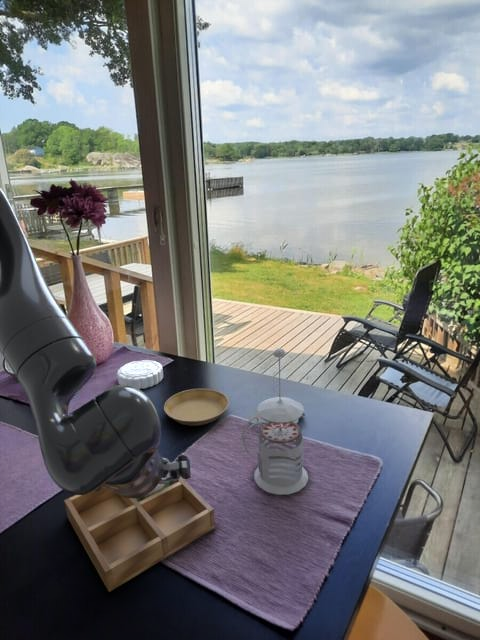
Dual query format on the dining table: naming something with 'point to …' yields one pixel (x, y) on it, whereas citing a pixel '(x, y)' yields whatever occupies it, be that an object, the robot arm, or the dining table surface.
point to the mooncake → (140, 374)
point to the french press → (275, 465)
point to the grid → (137, 528)
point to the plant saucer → (196, 406)
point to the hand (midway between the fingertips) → (146, 479)
